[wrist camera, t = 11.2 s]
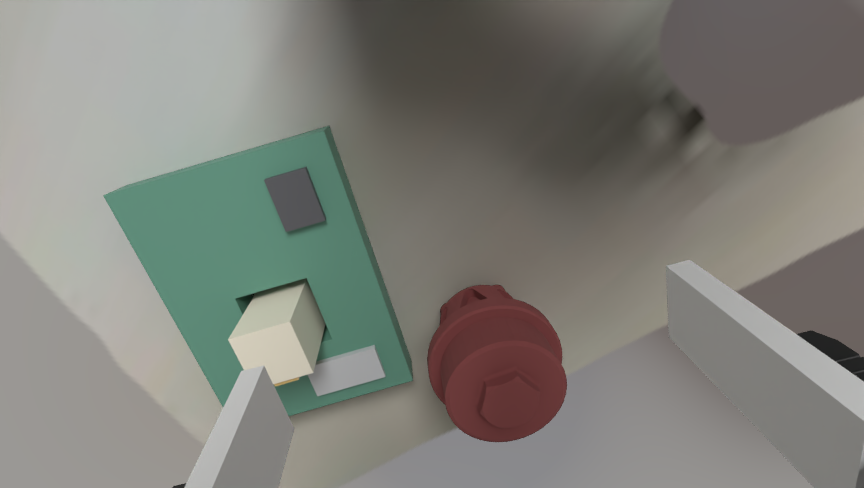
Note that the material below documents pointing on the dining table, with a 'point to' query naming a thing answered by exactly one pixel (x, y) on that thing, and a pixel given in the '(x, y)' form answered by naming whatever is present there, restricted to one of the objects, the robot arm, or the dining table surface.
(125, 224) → the board
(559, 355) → the mechanical component
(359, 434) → the dining table surface
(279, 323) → the plug
